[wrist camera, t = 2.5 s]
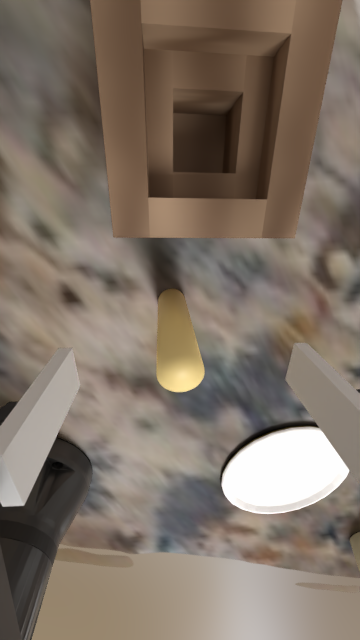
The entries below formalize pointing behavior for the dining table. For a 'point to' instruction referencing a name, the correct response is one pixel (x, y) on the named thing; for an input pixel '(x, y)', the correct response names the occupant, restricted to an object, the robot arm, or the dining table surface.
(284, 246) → the dining table surface
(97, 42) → the bore block
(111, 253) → the dining table surface
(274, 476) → the plate
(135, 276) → the dining table surface
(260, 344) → the dining table surface
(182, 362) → the pin
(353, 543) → the mug
